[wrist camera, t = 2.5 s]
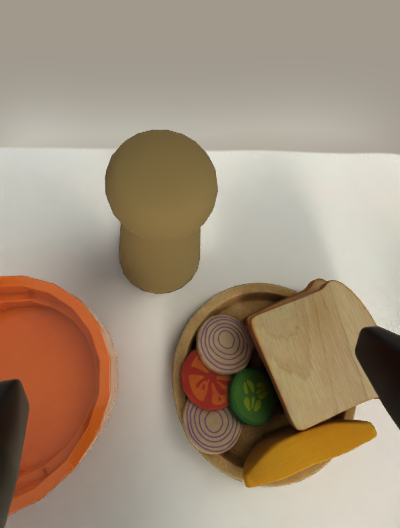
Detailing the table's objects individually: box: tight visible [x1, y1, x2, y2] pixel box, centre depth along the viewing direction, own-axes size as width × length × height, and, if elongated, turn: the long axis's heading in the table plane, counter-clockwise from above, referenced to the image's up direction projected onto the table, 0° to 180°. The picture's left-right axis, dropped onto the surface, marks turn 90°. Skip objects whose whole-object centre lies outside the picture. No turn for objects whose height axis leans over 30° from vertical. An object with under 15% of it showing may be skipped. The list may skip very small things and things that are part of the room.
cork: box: [105, 130, 218, 294], centre depth 18 cm, size 6×6×11 cm
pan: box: [0, 276, 118, 515], centre depth 18 cm, size 12×12×4 cm
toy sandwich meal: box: [172, 279, 379, 487], centre depth 19 cm, size 12×14×5 cm
